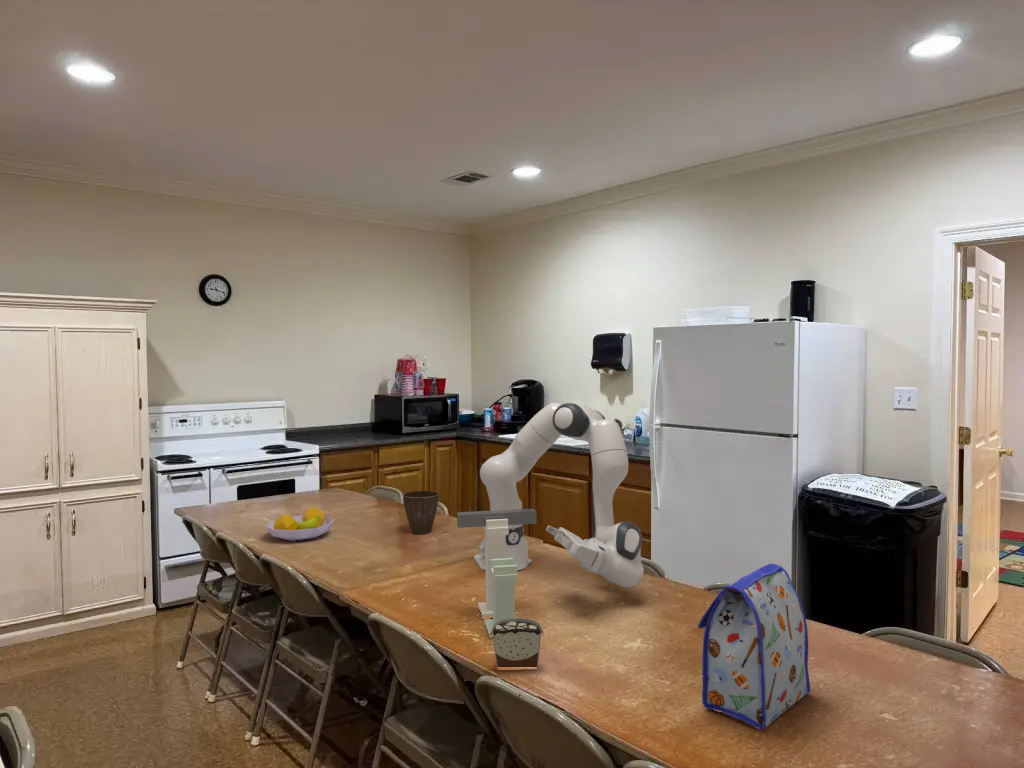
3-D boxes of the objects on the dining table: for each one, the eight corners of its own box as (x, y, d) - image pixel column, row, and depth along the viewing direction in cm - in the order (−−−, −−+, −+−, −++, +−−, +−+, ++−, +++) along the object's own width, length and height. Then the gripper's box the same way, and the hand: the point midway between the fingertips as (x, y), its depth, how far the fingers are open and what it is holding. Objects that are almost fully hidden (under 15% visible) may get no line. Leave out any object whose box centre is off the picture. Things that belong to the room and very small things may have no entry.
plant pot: (400, 529, 287) (400, 491, 286) (435, 526, 291) (435, 489, 291) (406, 538, 273) (405, 498, 272) (442, 535, 277) (442, 496, 276)
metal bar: (534, 520, 194) (533, 508, 194) (536, 523, 191) (536, 511, 191) (457, 524, 190) (457, 512, 190) (458, 527, 187) (458, 515, 187)
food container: (542, 658, 162) (541, 616, 162) (544, 669, 156) (543, 626, 155) (490, 659, 162) (489, 617, 161) (490, 671, 155) (489, 627, 155)
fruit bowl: (262, 533, 283) (261, 506, 282) (328, 526, 294) (328, 500, 294) (269, 550, 257) (268, 520, 257) (341, 541, 269) (341, 513, 268)
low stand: (517, 622, 184) (516, 556, 183) (524, 635, 175) (523, 566, 174) (484, 625, 182) (483, 558, 182) (489, 638, 173) (488, 568, 173)
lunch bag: (739, 669, 155) (739, 553, 154) (814, 693, 144) (815, 567, 143) (690, 707, 139) (690, 577, 138) (770, 737, 127) (771, 595, 126)
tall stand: (508, 605, 197) (508, 512, 196) (514, 617, 188) (513, 520, 187) (478, 607, 195) (477, 514, 194) (482, 619, 186) (481, 521, 185)
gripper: (586, 535, 206) (548, 514, 204) (608, 554, 186) (565, 531, 184) (576, 553, 206) (537, 532, 204) (597, 574, 186) (554, 552, 184)
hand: (551, 532), depth 194 cm, fingers open, 8 cm apart
